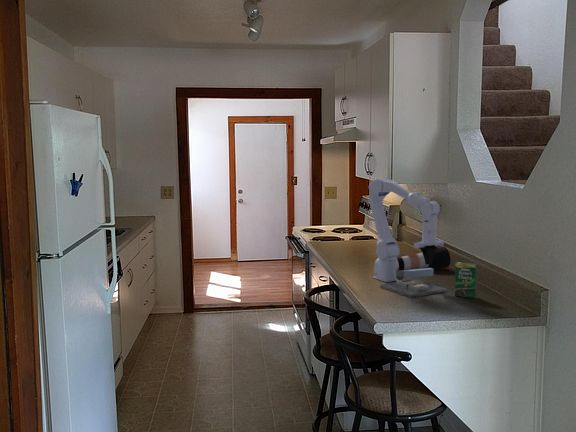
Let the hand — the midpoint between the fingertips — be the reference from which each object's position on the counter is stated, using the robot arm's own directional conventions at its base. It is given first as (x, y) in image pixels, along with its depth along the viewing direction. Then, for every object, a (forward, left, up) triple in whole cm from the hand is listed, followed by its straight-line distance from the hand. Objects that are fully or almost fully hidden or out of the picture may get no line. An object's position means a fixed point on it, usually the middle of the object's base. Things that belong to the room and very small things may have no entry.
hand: (428, 264), depth 219 cm
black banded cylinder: (-27, +17, -10) cm, 34 cm away
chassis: (-1, -7, -10) cm, 12 cm away
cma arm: (-7, -1, -6) cm, 9 cm away
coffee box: (+17, +3, -10) cm, 20 cm away
